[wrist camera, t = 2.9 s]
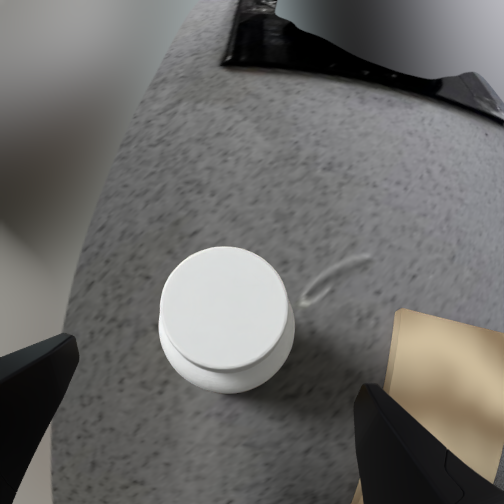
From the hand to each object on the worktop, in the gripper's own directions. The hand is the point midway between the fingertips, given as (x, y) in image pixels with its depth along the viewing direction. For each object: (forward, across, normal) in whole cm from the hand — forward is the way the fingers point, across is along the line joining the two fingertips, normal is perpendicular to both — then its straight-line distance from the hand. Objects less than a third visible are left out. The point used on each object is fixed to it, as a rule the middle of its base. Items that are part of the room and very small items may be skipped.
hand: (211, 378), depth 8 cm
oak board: (+5, -16, +8) cm, 18 cm away
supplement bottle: (+8, 0, +5) cm, 10 cm away
